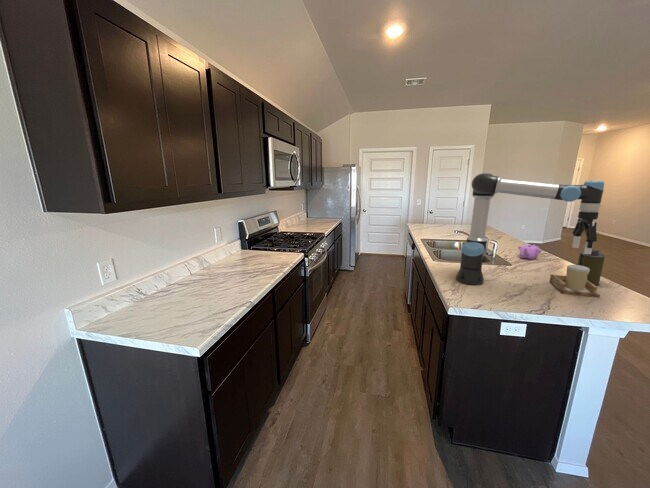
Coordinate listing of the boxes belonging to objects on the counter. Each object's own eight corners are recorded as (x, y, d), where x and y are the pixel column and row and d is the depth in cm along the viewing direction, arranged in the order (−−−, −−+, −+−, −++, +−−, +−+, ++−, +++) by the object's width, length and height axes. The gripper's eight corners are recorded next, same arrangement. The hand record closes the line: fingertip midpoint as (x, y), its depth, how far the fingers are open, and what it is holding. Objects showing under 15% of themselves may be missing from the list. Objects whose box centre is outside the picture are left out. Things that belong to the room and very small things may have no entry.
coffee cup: (590, 291, 147) (594, 270, 145) (570, 290, 149) (574, 269, 147) (578, 285, 156) (582, 264, 154) (559, 284, 158) (563, 264, 155)
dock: (561, 293, 150) (562, 284, 148) (549, 282, 166) (550, 274, 165) (599, 297, 144) (601, 288, 143) (583, 285, 160) (584, 277, 159)
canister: (594, 280, 166) (601, 248, 162) (602, 286, 157) (610, 252, 153) (571, 278, 171) (577, 247, 166) (578, 284, 162) (584, 251, 157)
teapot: (543, 261, 206) (545, 247, 203) (522, 260, 209) (524, 246, 206) (533, 256, 220) (535, 242, 218) (514, 255, 223) (516, 242, 221)
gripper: (611, 214, 131) (602, 257, 135) (586, 208, 153) (579, 245, 158) (591, 213, 133) (583, 256, 138) (569, 208, 156) (562, 245, 161)
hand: (581, 250), depth 148 cm, fingers open, 13 cm apart
